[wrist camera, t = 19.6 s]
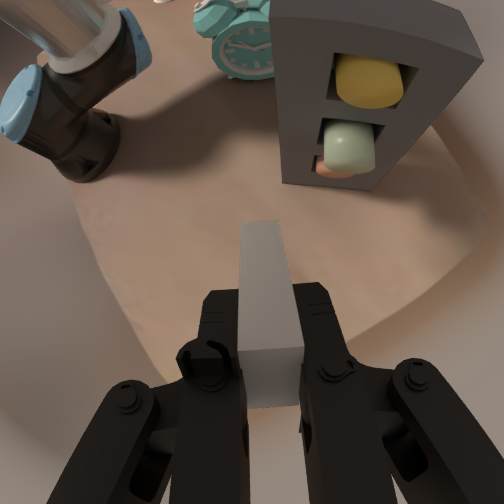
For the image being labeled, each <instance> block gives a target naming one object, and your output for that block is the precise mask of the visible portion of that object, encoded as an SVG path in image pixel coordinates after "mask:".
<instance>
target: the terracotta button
mask: <svg viewBox="0 0 504 504" xmlns="http://www.w3.org/2000/svg"><path fill="white" fill-rule="evenodd" d="M316 172H317V173H318V174H319V175H322V176H325V177H329V178H347V177H351V176H353V175H354V174H343V173H337V172H334V171H331V170H329V169H327V168H326V167H325V166H324V156H319V155H317V160H316Z"/></svg>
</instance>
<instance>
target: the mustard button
mask: <svg viewBox="0 0 504 504" xmlns="http://www.w3.org/2000/svg"><path fill="white" fill-rule="evenodd" d="M334 59H335V73H336V89H337V94H338V95H339V97H340V98H341V99H342V100H343V101H345V102H346V103H348V104H350V105H353V106H356V107H359V108H366V109H379V108H385V107H388V106H391V105H393V104H395V103H397V102H398V101H399V100H400V99H401V98H402V96H403V85H402V80H401V75H400V70H399V66H398V63H395V62H391V61H386V60H381V59H375V58H370V57H364V56H357V55H351V54H343V53H335V52H334Z"/></svg>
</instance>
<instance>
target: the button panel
mask: <svg viewBox="0 0 504 504" xmlns="http://www.w3.org/2000/svg"><path fill="white" fill-rule="evenodd" d="M268 17H269V26H270V35H271V45H272V56H273V66H274V77H275V89H276V101H277V114H278V127H279V141H280V156H281V173H282V183H286V184H300V185H313V186H324V187H335V188H345V189H355V190H364V191H371V190H372V189H373V188H374V187H375V186H376V184H377V183H378V182H379V181H380V180H381V179H382V178H383V177H384V176H385V175H386V174H387V173H388V172H389V170H390V169H391V168H392V167H393V166H394V165H395V164H396V163H397V162H398V161H399V160H400V158H401V157H402V156H403V155H404V154H405V153H406V152H407V151H408V150H409V149H410V147H411V146H412V145H413V144H414V143H415V142H416V141H417V140H418V138H419V137H420V136H421V135H422V134H423V133H424V132H425V131H426V129H427V128H428V127H429V126H430V125H431V124H432V122H433V121H434V120H435V119H436V118H437V117H438V116H439V114H440V113H441V112H442V111H443V110H444V109H445V107H446V106H447V105H448V104H449V103H450V102H451V101H452V99H453V98H454V97H455V96H456V95H457V93H458V92H459V91H460V90H461V89H462V87H463V86H464V85H465V84H466V83H467V81H468V80H469V79H470V78H471V76H472V75H473V74H474V73H475V72H476V70H477V69H478V68H479V67H480V65H481V64H482V63H483V61H484V59H483V56H482V54H481V52H480V49H479V47H478V45H477V43H476V41H475V38H474V36H473V34H472V32H471V30H470V28H469V26H468V24H467V22H466V20H465V18H464V17H463V15H462V13H461V11H459V10H457V9H454V8H452V7H449V6H447V5H444V4H441V3H438V2H435V1H432V0H270V6H269V16H268ZM334 52H335V53H343V54H351V55H357V56H364V57H370V58H375V59H381V60H386V61H391V62H395V63H398V66H399V70H400V75H401V80H402V85H403V96H402V98H401V99H400V100H399V101H398V102H397V103H395V104H393V105H391V106H388V107H385V108H379V109H366V108H359V107H356V106H353V105H350V104H348V103H346V102H345V101H343V100H342V99H341V98H340V97H339V95H338V94H337V89H336V73H335V59H334ZM334 118H335V119H344V120H352V121H359V122H367V123H370V124H371V125H372V127H373V134H374V151H375V168H374V169H373V170H372V171H369V172H366V173H362V174H354V175H353V176H351V177H347V178H329V177H325V176H322V175H319V174H318V173H317V172H316V160H317V155H319V156H324V126H325V124H326V123H327V122H328V121H330V120H332V119H334Z"/></svg>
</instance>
